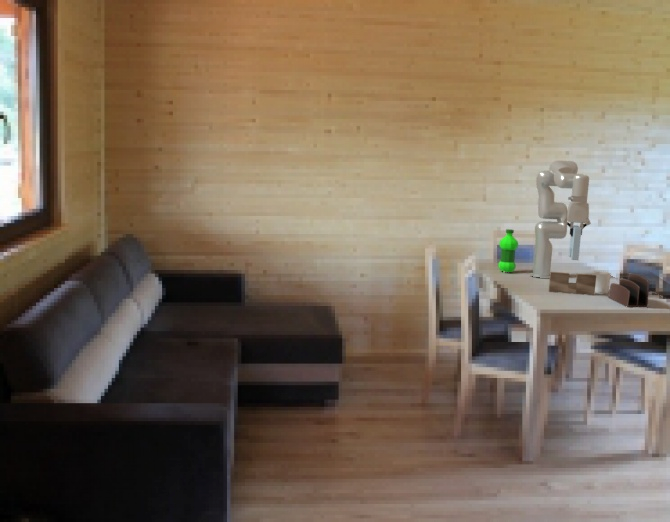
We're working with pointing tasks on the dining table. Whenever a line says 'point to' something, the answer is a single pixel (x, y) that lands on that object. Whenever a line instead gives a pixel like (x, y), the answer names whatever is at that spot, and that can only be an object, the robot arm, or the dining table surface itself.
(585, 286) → the slotted board
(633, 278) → the letter holder
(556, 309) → the dining table surface
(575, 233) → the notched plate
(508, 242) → the plastic bottle
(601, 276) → the cup
